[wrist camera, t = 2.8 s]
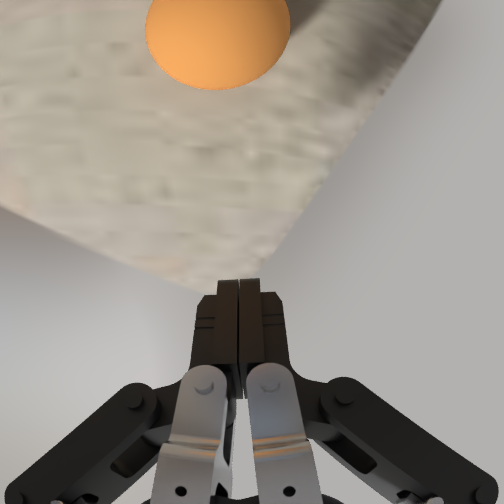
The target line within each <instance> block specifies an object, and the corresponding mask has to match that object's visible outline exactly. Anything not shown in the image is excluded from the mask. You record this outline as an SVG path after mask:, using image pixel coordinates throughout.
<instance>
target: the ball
mask: <svg viewBox="0 0 504 504" xmlns="http://www.w3.org/2000/svg"><path fill="white" fill-rule="evenodd" d="M145 30H146V40H147V44H148V47H149V50H150V52H151V54H152V56H153V58H154V60H155V61H156V62H157V64H158V65H159V66H160V67H161V68H162V69H163V70H164V71H165V72H166V73H167V74H168V75H170V76H171V77H172V78H174V79H176V80H177V81H179V82H181V83H183V84H186V85H189V86H192V87H195V88H200V89H207V90H223V89H230V88H235V87H239V86H242V85H244V84H247V83H249V82H251V81H253V80H255V79H257V78H259V77H260V76H262V75H263V74H265V73H266V72H267V71H268V70H269V69H270V68H271V67H272V66H273V65H274V64H275V63H276V62H277V61H278V59H279V58H280V56H281V55H282V53H283V51H284V49H285V47H286V45H287V42H288V39H289V34H290V14H289V10H288V6H287V4H286V2H285V0H153V2H152V4H151V6H150V9H149V11H148V15H147V18H146V26H145Z"/></svg>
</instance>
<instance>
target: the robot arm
mask: <svg viewBox="0 0 504 504" xmlns="http://www.w3.org/2000/svg"><path fill="white" fill-rule="evenodd" d="M243 389H244V396H245V399H248V407H249V415H250V425H251V432H252V442H253V453H254V462H255V471H256V478H257V487H258V495H257V496H254V497H249V498H245V499H241V500H235V499H231V494H232V458H233V446H234V435H235V423H236V399H243ZM307 438H310V439H313V440H314V441H315V442H316V443H317V444H318V445H320V446H321V447H322V448H323V449H324V450H325V451H327V452H328V453H329V454H330V455H331V456H333V457H334V458H335V459H336V460H337V461H339V462H340V463H341V464H342V465H343V466H345V467H346V468H347V469H348V470H350V471H351V472H352V473H353V474H355V475H356V476H357V477H358V478H360V479H361V480H362V481H363V482H365V483H366V484H367V485H369V486H370V487H371V488H373V489H374V490H375V491H376V492H378V493H379V494H380V495H382V496H383V497H385V498H386V499H387V500H389V501H390V502H391V503H393V504H495V503H496V501H497V498H498V485H497V482H496V480H495V479H494V478H493V477H492V476H491V475H489V474H488V473H486V472H485V471H483V470H482V469H480V468H479V467H477V466H476V465H474V464H473V463H471V462H470V461H468V460H467V459H465V458H464V457H462V456H461V455H459V454H458V453H456V452H455V451H454V450H452V449H451V448H449V447H448V446H446V445H445V444H444V443H442V442H441V441H439V440H438V439H436V438H435V437H433V436H432V435H431V434H429V433H428V432H426V431H425V430H424V429H422V428H421V427H420V426H418V425H417V424H415V423H414V422H413V421H411V420H410V419H409V418H407V417H406V416H404V415H403V414H402V413H400V412H399V411H398V410H396V409H395V408H393V407H392V406H391V405H389V404H388V403H387V402H385V401H384V400H383V399H381V398H380V397H379V396H377V395H376V394H374V393H373V392H372V391H370V390H369V389H368V388H366V387H365V386H364V385H363V384H361V383H360V382H359V381H357V380H355V379H353V378H349V377H339V378H335V379H332V380H331V381H329V382H328V383H322V382H317V381H311V380H308V379H305V378H303V377H301V376H300V375H298V374H297V373H296V372H295V371H294V370H293V368H292V366H291V364H290V361H289V352H288V344H287V336H286V328H285V320H284V313H283V305H282V301H281V300H280V298H279V297H278V295H277V294H276V292H260V279H259V278H255V279H240V289H239V281H238V279H237V280H218V285H217V295H204V297H203V298H202V300H201V302H200V303H199V304H198V306H197V313H196V321H195V330H194V336H193V344H192V352H191V361H190V367H189V370H188V372H187V373H185V375H184V376H183V378H182V379H181V380H179V381H178V382H176V383H174V384H172V385H169V386H165V387H161V388H157V389H153V390H152V388H151V387H149V386H148V385H146V384H143V383H131V384H128V385H126V386H124V387H123V388H122V389H120V390H119V391H118V392H117V393H116V394H115V395H114V396H112V397H111V398H110V399H109V400H108V401H107V402H105V403H104V404H103V405H102V406H101V407H100V408H99V409H97V410H96V411H95V412H94V413H93V414H92V415H90V416H89V417H88V418H87V419H86V420H85V421H84V422H82V423H81V424H80V425H79V426H78V427H76V428H75V429H74V430H73V431H72V432H71V433H69V435H67V436H66V437H65V438H64V439H62V440H61V441H60V442H59V443H58V444H57V445H56V446H54V447H53V448H52V449H51V450H49V451H48V452H47V453H46V454H45V455H44V456H42V457H41V458H40V459H39V460H38V461H36V462H35V463H34V464H33V465H32V466H31V467H29V468H28V469H27V470H26V471H25V472H23V473H22V474H21V475H20V476H19V477H17V478H16V479H15V480H14V481H12V482H11V483H10V484H9V485H8V486H7V488H6V491H5V504H111V503H112V502H113V501H114V500H116V499H117V498H118V497H119V496H120V495H121V494H123V493H124V492H125V491H126V490H127V489H128V488H129V487H130V486H132V485H133V484H134V483H135V482H136V481H137V480H138V479H139V478H140V477H141V476H142V475H144V474H145V473H146V472H147V471H148V470H149V469H150V468H151V467H152V466H153V465H154V464H155V463H157V467H156V473H155V478H154V484H153V489H152V495H151V498H150V499H149V500H147V501H145V502H143V503H142V504H343V503H342V502H340V501H339V500H337V499H335V498H332V497H330V496H327V495H324V494H321V491H320V486H319V481H318V476H317V471H316V466H315V461H314V456H313V452H312V448H311V444H310V442H309V440H308V439H307Z"/></svg>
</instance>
